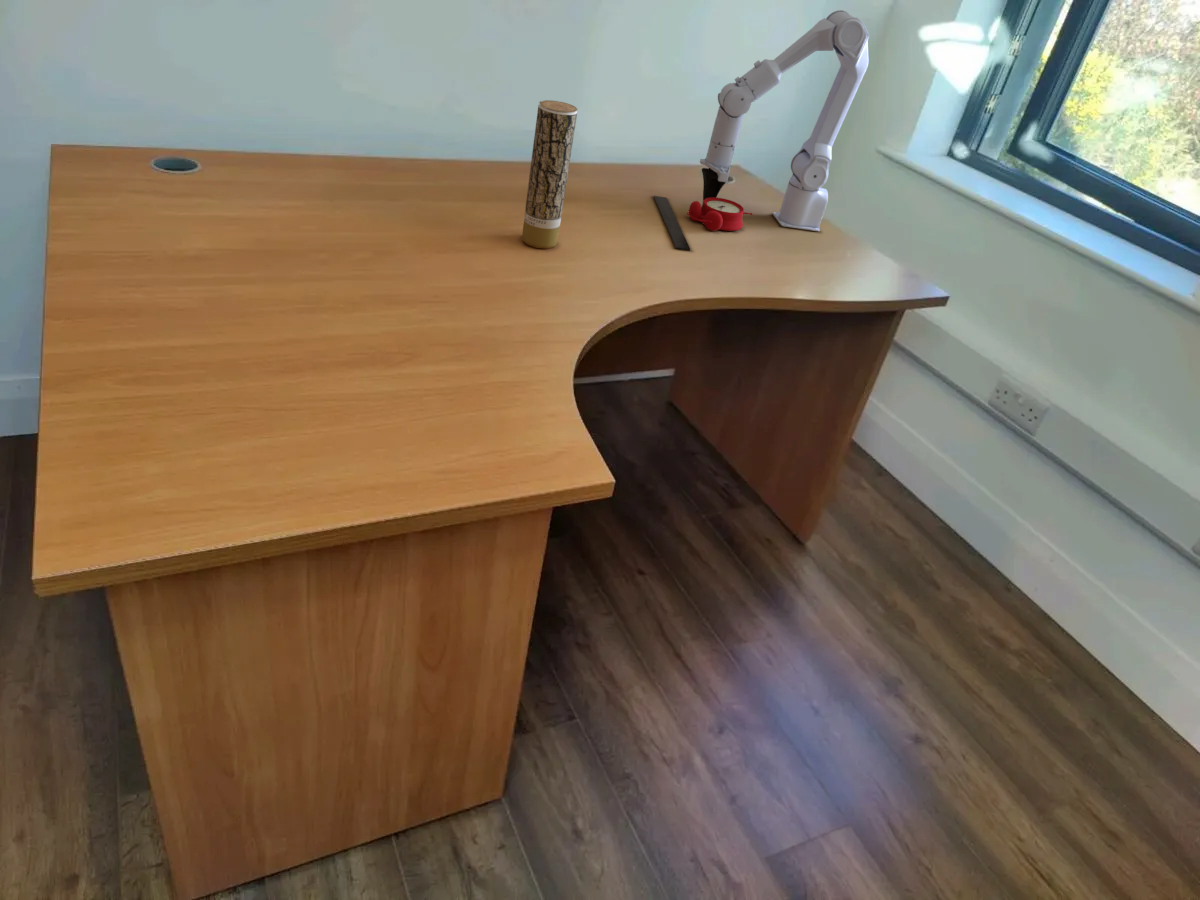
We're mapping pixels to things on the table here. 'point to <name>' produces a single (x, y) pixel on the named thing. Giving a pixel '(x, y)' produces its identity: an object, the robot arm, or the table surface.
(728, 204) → the alarm clock
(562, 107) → the paper tube
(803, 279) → the table surface
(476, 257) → the table surface
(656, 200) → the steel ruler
